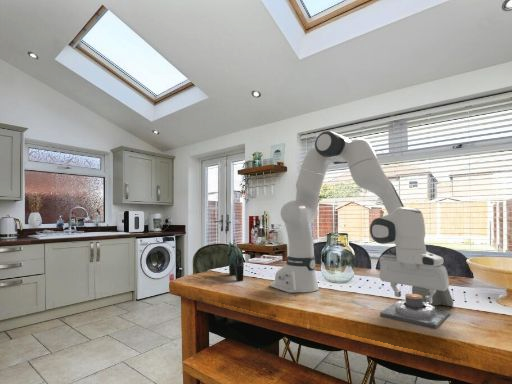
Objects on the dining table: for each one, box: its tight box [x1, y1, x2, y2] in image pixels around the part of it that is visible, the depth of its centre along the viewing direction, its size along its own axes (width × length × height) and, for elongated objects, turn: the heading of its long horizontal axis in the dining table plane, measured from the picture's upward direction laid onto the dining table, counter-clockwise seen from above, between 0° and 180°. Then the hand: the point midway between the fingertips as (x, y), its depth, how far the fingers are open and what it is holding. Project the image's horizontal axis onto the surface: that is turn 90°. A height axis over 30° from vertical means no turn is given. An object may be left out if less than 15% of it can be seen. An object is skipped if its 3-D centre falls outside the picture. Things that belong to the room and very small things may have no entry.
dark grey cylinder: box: [404, 293, 423, 309], centre depth 96 cm, size 5×5×5 cm
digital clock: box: [411, 286, 454, 307], centre depth 110 cm, size 16×9×11 cm, turn 1°
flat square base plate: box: [379, 299, 451, 329], centre depth 96 cm, size 16×16×3 cm
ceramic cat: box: [226, 239, 245, 282], centre depth 157 cm, size 20×6×20 cm, turn 17°
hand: (412, 299), depth 96 cm, fingers open, 8 cm apart
